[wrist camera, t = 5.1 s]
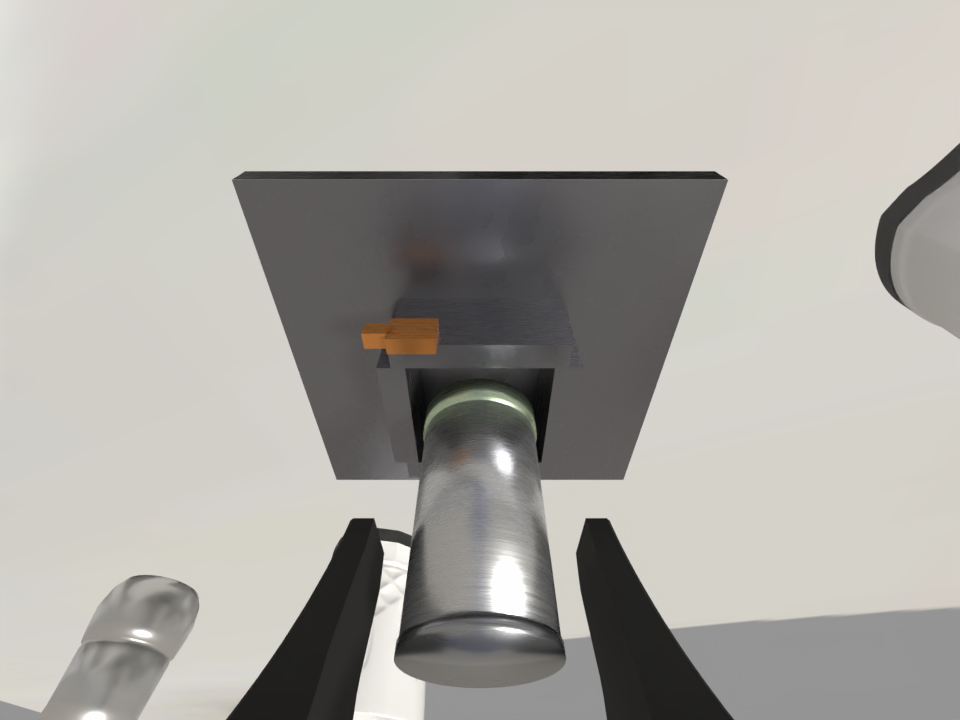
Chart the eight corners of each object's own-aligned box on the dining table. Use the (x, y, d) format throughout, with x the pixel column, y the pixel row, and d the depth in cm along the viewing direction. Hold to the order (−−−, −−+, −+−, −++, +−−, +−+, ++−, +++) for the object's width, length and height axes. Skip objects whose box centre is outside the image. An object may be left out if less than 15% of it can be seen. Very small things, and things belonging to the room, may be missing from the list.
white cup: (352, 580, 34) (314, 749, 26) (308, 528, 29) (244, 717, 21) (449, 571, 33) (439, 744, 25) (420, 515, 28) (396, 708, 20)
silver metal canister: (421, 376, 15) (380, 628, 9) (538, 376, 15) (579, 629, 9) (430, 451, 18) (402, 688, 11) (529, 452, 18) (557, 688, 11)
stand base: (245, 171, 14) (169, 219, 11) (714, 171, 14) (790, 219, 11) (341, 465, 24) (317, 539, 21) (618, 465, 24) (642, 539, 21)
